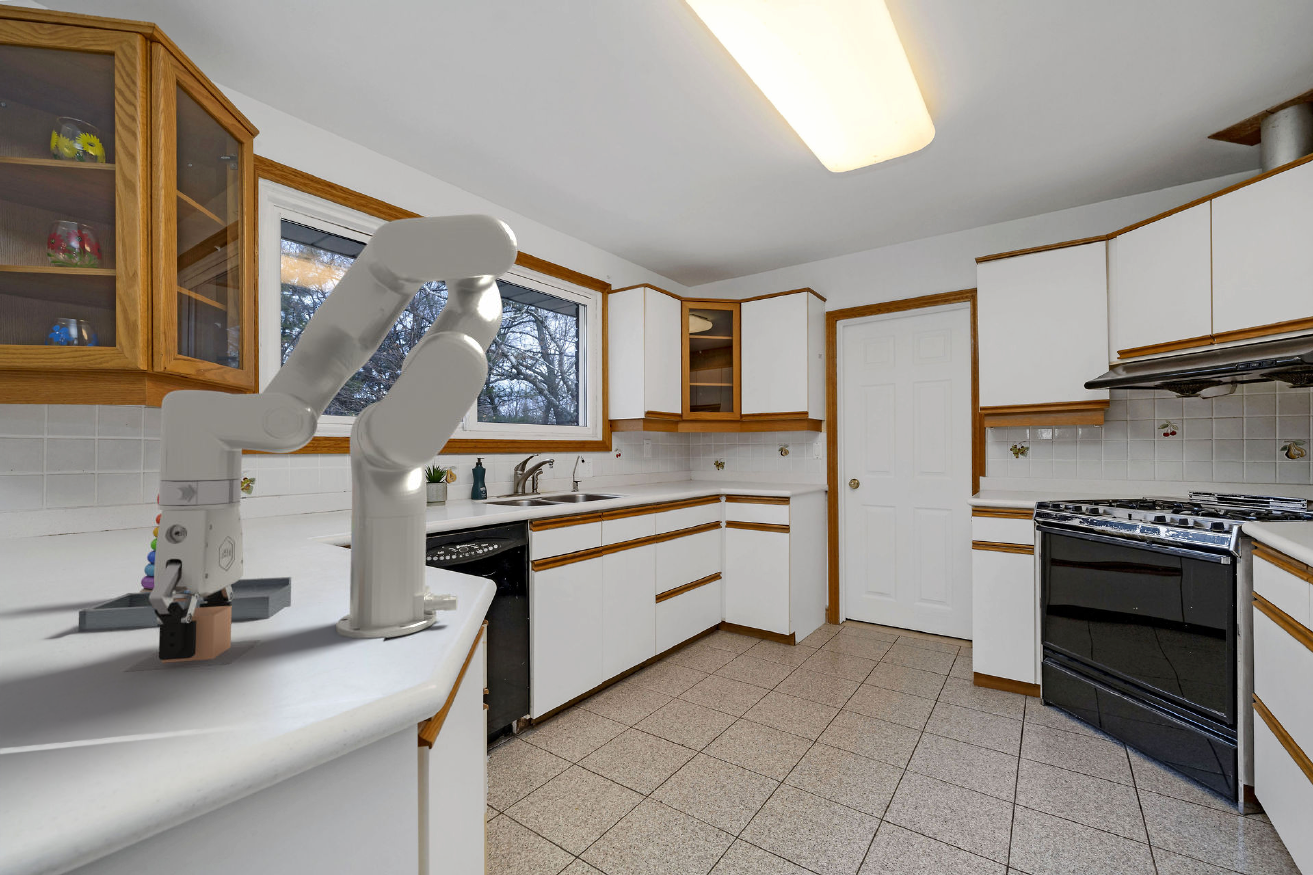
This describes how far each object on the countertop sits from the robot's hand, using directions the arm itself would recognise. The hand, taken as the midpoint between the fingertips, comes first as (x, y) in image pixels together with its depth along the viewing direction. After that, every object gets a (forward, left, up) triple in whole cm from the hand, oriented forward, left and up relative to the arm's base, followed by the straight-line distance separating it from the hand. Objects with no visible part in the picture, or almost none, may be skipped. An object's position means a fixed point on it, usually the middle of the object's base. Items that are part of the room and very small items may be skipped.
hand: (197, 644), depth 65 cm
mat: (0, 0, -2) cm, 2 cm away
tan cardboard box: (0, 0, -1) cm, 1 cm away
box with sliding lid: (+9, -18, -2) cm, 20 cm away
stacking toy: (+19, -32, -2) cm, 37 cm away
